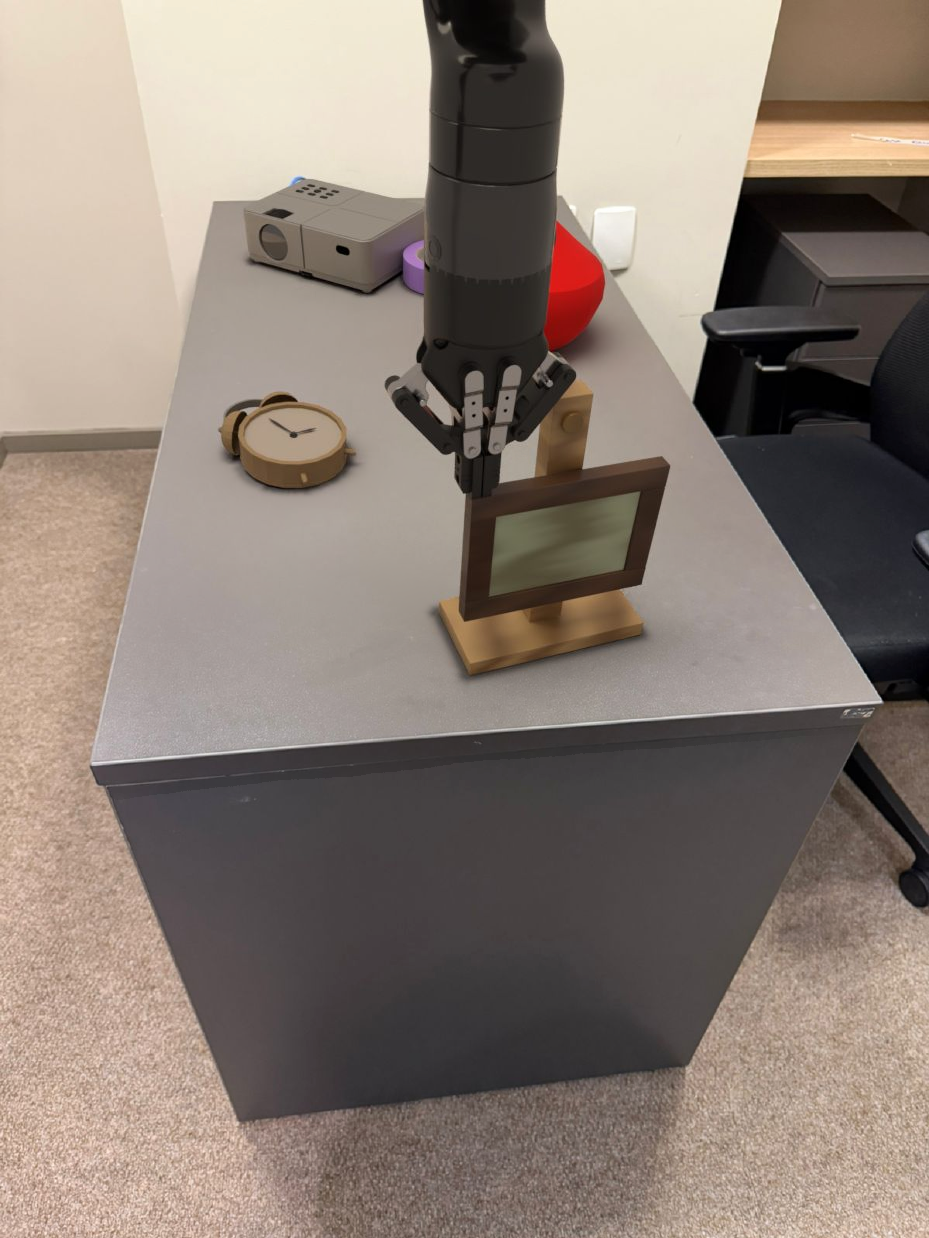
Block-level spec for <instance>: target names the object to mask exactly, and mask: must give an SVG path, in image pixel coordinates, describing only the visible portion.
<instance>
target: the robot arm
mask: <svg viewBox="0 0 929 1238" xmlns="http://www.w3.org/2000/svg"><path fill="white" fill-rule="evenodd" d="M421 1H422V9H423V18H424V25H425V29H426V30H425V31H426V36H427V43H428V49H429V59H430V81H429V94H428V95H429V96H428V107H429V108H428V167H427V179H426V185H425V192H424V201H423V206H424V294H423V336H422V339H421V342H420V344H419V346H418V348H417V349H416V354H415V359H416V360H415V361H416V363H415V364H414V365H413V366H412V367H411V368H410V369H408V370H407V371H406V372H405V373H404V374H402V376H401V377H400V376H399V375H391V376H388V377H387V378H386V379H385V381H384V389H385V391H386V393H387V394H388V396H389V398H390V399H391V401H392V403H393V405H394V406H395V408H396V410H398V412H399V413H401V414H402V416H403V417H404V418H405V419H406V420H407V421H408V422H409V423H410V424H411V425H412V426H413V427H414V428H415V429H416V430H417V432H419V433H420V434H421V435H422V436H423V437H425V439H426V440H427V441H428V442H429V443H430V444H431V445H432V446H433V447H434V448H435V449H436V450H437V451H438V452H439V453H440V454H442V455H443V456H444V455H445V456H448V455H451V454H453V453H454V473H453V478H454V480H455V482H456V484H457V486H458V487H459V489H460V491H461V492H462V494H463V495H466V494H467V496H468V498H469V499H470V500H474V499H480V498H485V497H491V495H492V489H493V488H497V486H498V484H499V483H500V480H501V466H502V453H503V451H504V450H505V448H506V446H507V445H509V444H510V443H512V442H518V443H523V442H525V441H527V440H528V439H529V438H530V437H531V435H532V434H533V433H534V431H535V430H536V429H537V428H538V427H539V426H540V423H541V422H542V420H543V419H544V418H545V417H546V415H547V414H548V413H549V412H550V410H551V409H552V408H553V407H554V406H555V404H556V403H557V402H558V401H559V399H560V398H561V397H562V396H563V394H564V393H565V392H566V391H567V390H568V388H569V387H570V386H571V385H572V383H573V382H574V381H576V379H577V371H576V370H575V369H574V368H573V367H572V366H571V365H570V363H568V361H567V360H566V359H565V358H564V357H563V356H562V354H560V353H559V352H557V351H551V352H550V351H548V350H549V346H548V341H547V339H546V337H545V335H544V330H543V329H544V327H545V324H546V318H547V309H548V299H549V289H550V279H551V269H552V259H553V249H554V246H555V242H556V220H557V218H558V187H557V184H558V179H557V178H558V177H557V176H558V166H559V165H558V163H559V153H560V145H561V133H562V123H563V112H564V101H565V68H564V67H565V66H564V62H563V59H562V56H561V54H560V51H559V49H558V48H557V46H556V44H555V43H554V41H553V39H552V36H551V35H550V32H549V28H548V24H547V12H546V0H421ZM557 221H558V220H557ZM428 382H429V383H430V384H431V385H432V386H433V387H434V388H435V390H436V391H437V392H438V393H439V395H440V396H441V397H442V398H443V399H444V400H445V402H447V404H448V408H449V410H450V414H451V415H450V416H451V424H446V423H444V421H442V419H440V417H439V416H437V414H436V413H435V412H434V411H433V410H432V409H431V408H430V407H429V406H428V405H427V404H428V402H429V399H430V395H429V392H428V391H427V384H428Z"/></svg>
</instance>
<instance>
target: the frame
mask: <svg viewBox="0 0 929 1238" xmlns="http://www.w3.org/2000/svg"><path fill="white" fill-rule="evenodd" d="M670 469H671V464H670V463H669V462H668V461H667V460H666V459H665V457H664V456H662V455H660V456H654V457H649V458H647V457H646V458H642V459H636V460H630V461H623V462H618V463H612V464H606V465H605V464H604V465H599V466H594V467H593V466H592V467H588V468H583V469H581V470H575V471H569V472H563V473H557V474H551V475H545V476H539V477H528V478H527V477H526V478H521V479H516V480H509V481H504V482H499V484H498V486H497V488H493V489H492V495H491V497H485V498H480V499H474V500H470V499H469V498H468V496H467V494H465V496H464V498H465V499H464V513H463V514H464V515H463V531H462V544H461V545H462V547H461V564H460V581H459V596H458V597H459V613H460V615H461V617H462V619H463V621H464V622H467V621H472V620H476V619H481V618H486V617H491V616H496V615H500V614H505V613H510V612H515V611H519V610H524V609H529V608H534V607H538V606H543V605H548V604H553V603H557V602H562V601H567V600H572V599H576V598H581V597H586V596H591V595H595V594H600V593H605V592H610V591H614V590H619V589H620V590H623V589H628V588H629V589H630V588H632V587H637V586H642V584H643V580H644V576H645V572H646V568H647V564H648V560H649V557H650V556H649V555H650V551H651V549H652V543H653V539H654V535H655V531H656V527H657V523H658V519H659V514H660V510H661V506H662V502H663V498H664V494H665V490H666V487H667V483H668V478H669V474H670Z"/></svg>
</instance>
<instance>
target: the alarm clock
mask: <svg viewBox="0 0 929 1238" xmlns="http://www.w3.org/2000/svg"><path fill="white" fill-rule="evenodd" d="M249 408H256V409H255V410H253V411H252V412H250V413H249V414H248V413H247V412H246V411H245V410H246V409H249ZM222 417H223V420H222V425H221V426H220V427H218V428H217V431H218V432H219V433H220V439H221V440H220V441H221V443H222V446H223V447H224V449H225V451H227V452H228V453H230V454H232V455H234V456H239V457H240V461H241V464H242V466H243V469H244V470H245V471H246V472H247V473H248V474H250V476H251V477H252V478H253V479H255V480H257V481H260V482H262V483H263V484H265V485H268V486H273V487H278V488H282V489H283V488H284V489H304V488H308V487H315V486H319V485H322V484H323V483H325V482H328V481H331V480H333V478H335V477H336V476H337V475H338V474H340V473H341V472H342V471H343V469H344V467H345V465H346V463H347V456H357V451H356V450H354V449H351V448H347V427H346V425H345V423H344V421H343V420H342V418H340V416H338V415H337V414H336V413H335V412H333V411H332V410H330V409H328V408H325V407H323V406H320V405H319V404H313V403H309V402H305V401H298V399H297V398H296V397H295V396H293V395H292V394H291V393H289V392H285V391H274V392H270V393H269V394H267V395H266V396H264V398H247V399H244V400H240V401H238V402H235V403H233V404H231V405H230V406H229V407H227V408H226V409H225V410H224V412H223V416H222Z"/></svg>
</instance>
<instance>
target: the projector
mask: <svg viewBox="0 0 929 1238" xmlns="http://www.w3.org/2000/svg"><path fill="white" fill-rule="evenodd" d="M242 214H243V221H244V229H245V236H246V244H247V251H248V253H249V256H250V258H251V260H253V261H254V262H255V263H264V264H267V265H271V266H275V267H278V268H282V269H285V270H288V271H293V272H295V273H301V275H302V276H305V277H314V278H316V279H317V278H318V279H321V280H325V281H329V282H332V283H335V284H339V285H342V286H346V287H349V288H353V289H357V290H360V291H362V293H365V294H369V293H371V292H372V291H373V290H374V289H376V288H377V287H379V286H381V285H382V284H383V283H385V282H387V281H389V280H390V279H391V278H393V277H395V276H396V275H397V274H399V273H401V272H403V252H404V250H405V249H406V248H407V247H408V246H409V245H411V244H413V243H415V242H418V241H422V240H424V205H422V204H420V203H416V202H412V201H407V200H404V199H399V198H395V197H392V196H387V195H382V194H378V193H374V192H369V191H366V190H361V189H357V188H353V187H349V186H344V185H340V184H335V183H333V182H332V183H331V182H327V181H323V180H318V179H315V178H305V179H302V180H299V181H297V182H295V183H293V184H290V185H289V186H286V187H284V188H281V189H280V190H278V191H275V192H273V193H272V194H269V195H267V196H264V197H263V198H261V199H258V200H256V201H254V202H251V203H250V204H248V205H246V206H244V207H243V209H242Z"/></svg>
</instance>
